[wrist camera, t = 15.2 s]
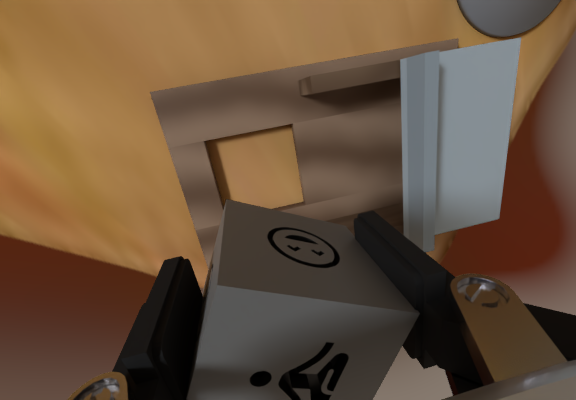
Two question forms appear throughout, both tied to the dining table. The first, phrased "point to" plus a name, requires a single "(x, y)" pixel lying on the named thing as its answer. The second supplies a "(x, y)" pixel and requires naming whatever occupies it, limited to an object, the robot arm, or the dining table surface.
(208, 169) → the game box
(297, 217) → the dice cube
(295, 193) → the dining table surface
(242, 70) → the dining table surface
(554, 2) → the round mat
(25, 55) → the dining table surface
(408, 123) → the sliding lid
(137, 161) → the dining table surface
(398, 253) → the robot arm
